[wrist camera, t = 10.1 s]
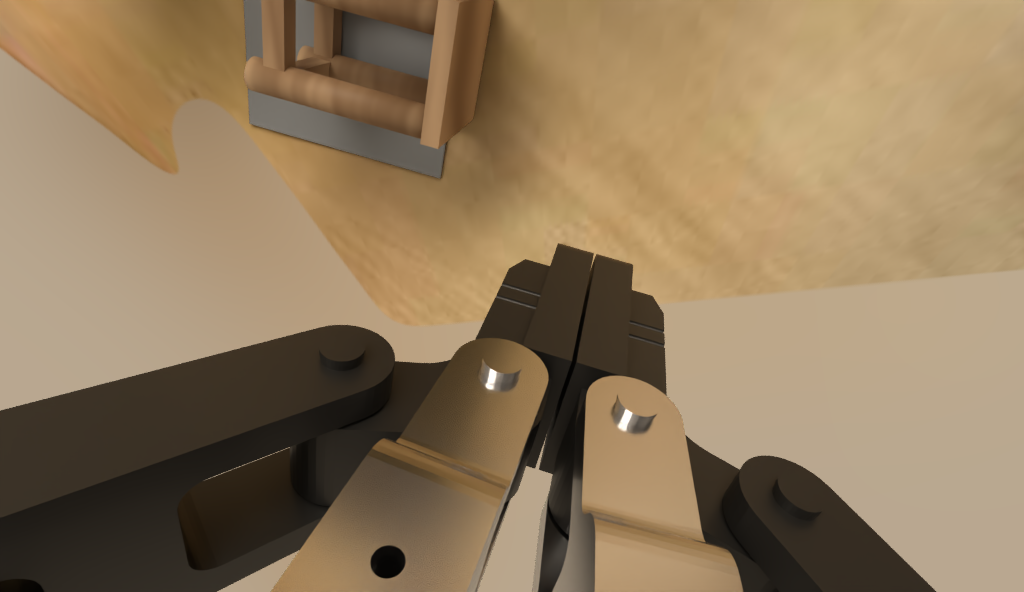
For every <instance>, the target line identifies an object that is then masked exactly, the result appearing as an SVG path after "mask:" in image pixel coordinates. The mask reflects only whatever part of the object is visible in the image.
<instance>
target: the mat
mask: <svg viewBox="0 0 1024 592" xmlns="http://www.w3.org/2000/svg"><path fill="white" fill-rule="evenodd" d="M244 17H245V38H246V59H247V61H248V60H249V59H250V58H251V57H253V56H257V57H260V58H263V40H262V7H261V0H244ZM433 38H434V35H430V34H427V33H423V32H420V31H416V30H412V29H409V28H405V27H401V26H398V25H394V24H390V23H387V22H383V21H379V20H376V19H372V18H368V17H365V16H361V15H357V14H354V13H350V12H346V11H342V35H341V55H342V56H346V57H349V58H353V59H356V60H360V61H363V62H367V63H371V64H374V65H378V66H381V67H385V68H389V69H392V70H396V71H399V72H403V73H406V74H410V75H414V76H417V77H421V78H424V79H428V78H429V70H430V62H431V54H432V46H433ZM305 45H306V46H310V47H313V48H314V2H310V1H306V0H296V61H297V56H298V53H299V51H300V49H301V48H302V47H303V46H305ZM248 101H249V121H250V124H252V125H256V126H259V127H263V128H266V129H269V130H273V131H276V132H280V133H283V134H287V135H290V136H294V137H297V138H301V139H304V140H308V141H311V142H315V143H318V144H322V145H325V146H329V147H332V148H335V149H339V150H342V151H346V152H349V153H353V154H356V155H360V156H363V157H367V158H370V159H374V160H377V161H381V162H384V163H388V164H391V165H395V166H398V167H401V168H405V169H408V170H412V171H415V172H419V173H422V174H426V175H429V176H433V177H436V178H441V174H442V167H443V160H444V154H445V147H446V143H445V144H443V145H442V146H441V147H440V148H439V149H436V148H433V147H429V146H426V145H422V144H420V141H421V139H419V138H415V137H412V136H408V135H405V134H401V133H398V132H394V131H391V130H387V129H384V128H380V127H377V126H373V125H370V124H366V123H363V122H359V121H356V120H353V119H349V118H346V117H342V116H339V115H335V114H332V113H328V112H325V111H321V110H318V109H314V108H311V107H307V106H304V105H300V104H297V103H293V102H290V101H286V100H283V99H279V98H276V97H272V96H269V95H265V94H262V93H258V92H255V91H251V90H249V89H248Z"/></svg>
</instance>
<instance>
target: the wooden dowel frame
mask: <svg viewBox="0 0 1024 592" xmlns="http://www.w3.org/2000/svg"><path fill="white" fill-rule="evenodd" d="M306 1H310V2H314V48H313V47H310V46H306V45H305V46H303V47H302V48H301V49H300V51H299V53H298V56H297V61H296V0H261V7H262V40H263V58H260V57H257V56H253V57H251V58H250V59H249V60H248V61H247V63H246V66H245V70H244V80H245V84H246V86H247V87H248V89H249V90H251V91H255V92H258V93H262V94H265V95H269V96H272V97H276V98H279V99H283V100H286V101H290V102H293V103H297V104H300V105H304V106H307V107H311V108H314V109H318V110H321V111H325V112H328V113H332V114H335V115H339V116H342V117H346V118H349V119H353V120H356V121H359V122H363V123H366V124H370V125H373V126H377V127H380V128H384V129H387V130H391V131H394V132H398V133H401V134H405V135H408V136H412V137H415V138H419V139H421V141H420V144H422V145H426V146H429V147H433V148H436V149H439V148H440V147H441V146H442V145H443V144H445V143H446V142H447V141H448V140H449V139H451V138H452V137H453V136H454V135H455V134H456V133H458V132H459V131H460V130H461V129H462V128H463V127H465V126H466V125H467V124H468V123H469V122H471V121H472V120H473V118H474V112H475V107H476V101H477V95H478V89H479V84H480V78H481V72H482V67H483V61H484V55H485V50H486V44H487V38H488V33H489V27H490V21H491V16H492V10H493V4H494V0H306ZM342 11H346V12H350V13H354V14H357V15H361V16H365V17H368V18H372V19H376V20H379V21H383V22H387V23H390V24H394V25H398V26H401V27H405V28H409V29H412V30H416V31H420V32H423V33H427V34H430V35H434V38H433V46H432V54H431V62H430V70H429V78H428V79H424V78H421V77H417V76H414V75H410V74H406V73H403V72H399V71H396V70H392V69H389V68H385V67H381V66H378V65H374V64H371V63H367V62H363V61H360V60H356V59H353V58H349V57H346V56H342V55H341V35H342Z"/></svg>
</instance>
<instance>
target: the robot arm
mask: <svg viewBox="0 0 1024 592" xmlns="http://www.w3.org/2000/svg"><path fill="white" fill-rule="evenodd" d="M593 255H594V253H590V252H587V251H583V250H580V249H577V248H573V247H570V246H566V245H563V244H559V243H558V245H557V248H556V251H555V254H554V257H553V260H552V263H551V266H547V265H543V264H540V263H537V262H533V261H530V260H526V259H525V260H523V261H522V262H520V263H518V264H516V265H515V266H513V267H511V268H509V270H508V272H507V274H506V277H505V279H504V281H503V283H502V286H501V287H500V289H499V291H498V293H497V296H496V298H495V300H494V302H493V304H492V306H491V308H490V310H489V312H488V314H487V316H486V318H485V320H484V323H483V325H482V327H481V329H480V331H479V333H478V335H477V337H476V340H473V341H470V342H468V343H466V344H464V345H463V346H461V347H460V348H459V349H458V350H457V352H456V353H455V354H454V356H453V357H452V359H451V360H448V361H444V362H439V363H412V362H411V363H410V362H396V361H395V355H394V352H393V349H392V347H391V346H390V344H389V343H388V342H387V341H386V340H385V339H384V338H383V337H381V336H380V335H379V334H377V333H375V332H373V331H370V330H368V329H365V328H361V327H356V326H350V325H332V326H325V327H321V328H317V329H313V330H309V331H306V332H301V333H297V334H294V335H290V336H286V337H282V338H278V339H274V340H271V341H267V342H263V343H259V344H255V345H251V346H248V347H243V348H240V349H236V350H232V351H228V352H224V353H221V354H217V355H213V356H209V357H205V358H201V359H197V360H193V361H190V362H186V363H182V364H178V365H174V366H171V367H166V368H163V369H159V370H155V371H151V372H148V373H144V374H140V375H136V376H132V377H128V378H124V379H120V380H117V381H113V382H109V383H105V384H101V385H97V386H93V387H90V388H86V389H82V390H78V391H74V392H71V393H67V394H63V395H59V396H55V397H51V398H48V399H43V400H39V401H36V402H32V403H28V404H24V405H20V406H16V407H13V408H9V409H5V410H1V411H0V592H217V591H219V590H221V589H223V588H225V587H227V586H229V585H231V584H233V583H234V582H237V581H239V580H241V579H242V578H244V577H246V576H248V575H250V574H252V573H254V572H256V571H258V570H260V569H262V568H264V567H266V566H268V565H270V564H272V563H274V562H276V561H278V560H280V559H282V558H284V557H286V556H288V555H290V554H292V553H294V552H296V551H298V550H299V552H298V553H297V555H296V556H295V558H294V559H293V560H292V562H291V563H290V565H289V566H288V568H287V569H286V570H285V572H284V573H283V575H282V576H281V578H280V579H279V580H278V582H277V583H276V585H275V586H274V587H273V589H272V590H271V592H477V591H478V588H479V586H480V582H481V580H482V577H483V575H484V572H485V569H486V566H487V564H488V561H489V558H490V555H491V553H492V550H493V547H494V545H495V542H496V539H497V536H498V534H499V531H500V528H501V525H502V522H503V520H504V517H505V514H506V512H507V509H508V506H509V503H510V500H511V498H512V497H513V496H514V495H515V493H516V492H517V490H518V488H519V486H520V482H521V479H522V477H523V473H524V470H525V467H526V466H529V467H532V468H535V467H536V464H537V461H538V458H539V455H540V452H541V449H542V446H543V444H544V441H545V445H544V449H543V454H542V458H541V462H540V468H539V470H542V471H545V472H548V473H551V474H553V476H552V481H551V486H550V491H549V494H548V497H547V500H546V502H545V504H544V507H543V510H542V513H541V518H540V526H539V536H538V544H537V553H536V562H535V571H534V580H533V588H532V592H936V591H935V590H934V589H933V588H932V587H931V586H930V585H929V584H928V583H927V582H926V581H925V580H924V579H923V578H922V577H921V576H920V575H919V574H918V573H917V572H916V571H915V570H914V569H913V568H911V567H910V565H908V564H907V562H905V561H904V560H903V559H902V558H901V557H900V556H899V555H898V554H897V553H896V552H895V551H894V550H893V549H892V548H891V547H890V546H889V545H888V544H887V543H886V542H885V541H884V540H883V539H882V538H881V537H880V536H879V535H878V534H877V533H876V532H875V531H874V530H873V529H872V528H871V527H869V525H868V524H867V523H866V522H865V521H864V520H863V519H861V518H860V517H859V516H858V515H857V514H856V513H855V512H854V511H853V510H852V509H851V508H850V507H849V506H848V505H847V504H846V503H845V502H844V501H843V500H842V499H841V498H840V497H839V496H838V495H837V494H836V493H835V492H834V491H833V490H832V489H831V488H830V487H829V486H828V485H827V484H825V483H824V482H823V481H822V480H821V479H820V478H818V477H817V476H816V475H814V474H813V473H811V472H810V471H808V470H807V469H805V468H803V467H801V466H799V465H797V464H796V463H793V462H791V461H788V460H786V459H782V458H779V457H774V456H758V457H753V458H751V459H749V460H748V461H746V462H745V463H744V464H743V466H742V467H741V469H740V470H739V469H737V468H735V467H734V466H732V465H730V464H729V463H727V462H725V461H723V460H722V459H719V458H718V457H716V456H714V455H712V454H711V453H709V452H708V451H706V450H704V449H703V448H701V447H699V446H698V445H697V444H695V443H694V442H693V441H692V440H690V439H689V438H688V437H687V436H686V435H685V431H684V424H683V420H682V417H681V414H680V412H679V410H678V409H677V407H676V406H675V404H674V403H673V402H672V401H671V400H670V399H669V398H668V397H667V395H666V369H665V348H664V344H665V342H664V333H663V332H664V315H663V312H662V310H661V309H660V307H659V306H658V304H657V303H656V301H655V299H654V298H653V296H650V295H647V294H644V293H640V292H637V291H633V290H632V273H633V265H632V264H629V263H626V262H622V261H619V260H615V259H612V258H608V257H605V256H601V255H598V254H596V256H595V259H594V262H593V265H592V260H593ZM591 265H592V268H591ZM590 269H591V271H590ZM546 435H547V436H546ZM545 438H546V440H545ZM288 447H290V448H288ZM285 448H288V449H285ZM283 449H285V450H283ZM281 450H283V451H281ZM278 451H280V452H278ZM275 452H278V453H275ZM273 453H275V454H273ZM270 454H272V455H270ZM268 455H270V456H268ZM265 456H267V457H265ZM262 457H265V458H262ZM260 458H262V459H260ZM257 459H259V460H257ZM254 460H257V461H254ZM252 461H254V462H252ZM249 462H252V463H249ZM247 463H249V464H247ZM244 464H246V465H244ZM242 465H244V466H242ZM239 466H241V467H239ZM236 467H239V468H236ZM234 468H236V469H234ZM231 469H233V470H231ZM228 470H231V471H228ZM226 471H228V472H226ZM223 472H226V473H223ZM221 473H223V474H221ZM218 474H221V475H218ZM216 475H218V476H216ZM213 476H216V477H213ZM210 477H213V478H210ZM208 478H210V479H208ZM206 479H208V480H206ZM204 480H205V481H204Z"/></svg>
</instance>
